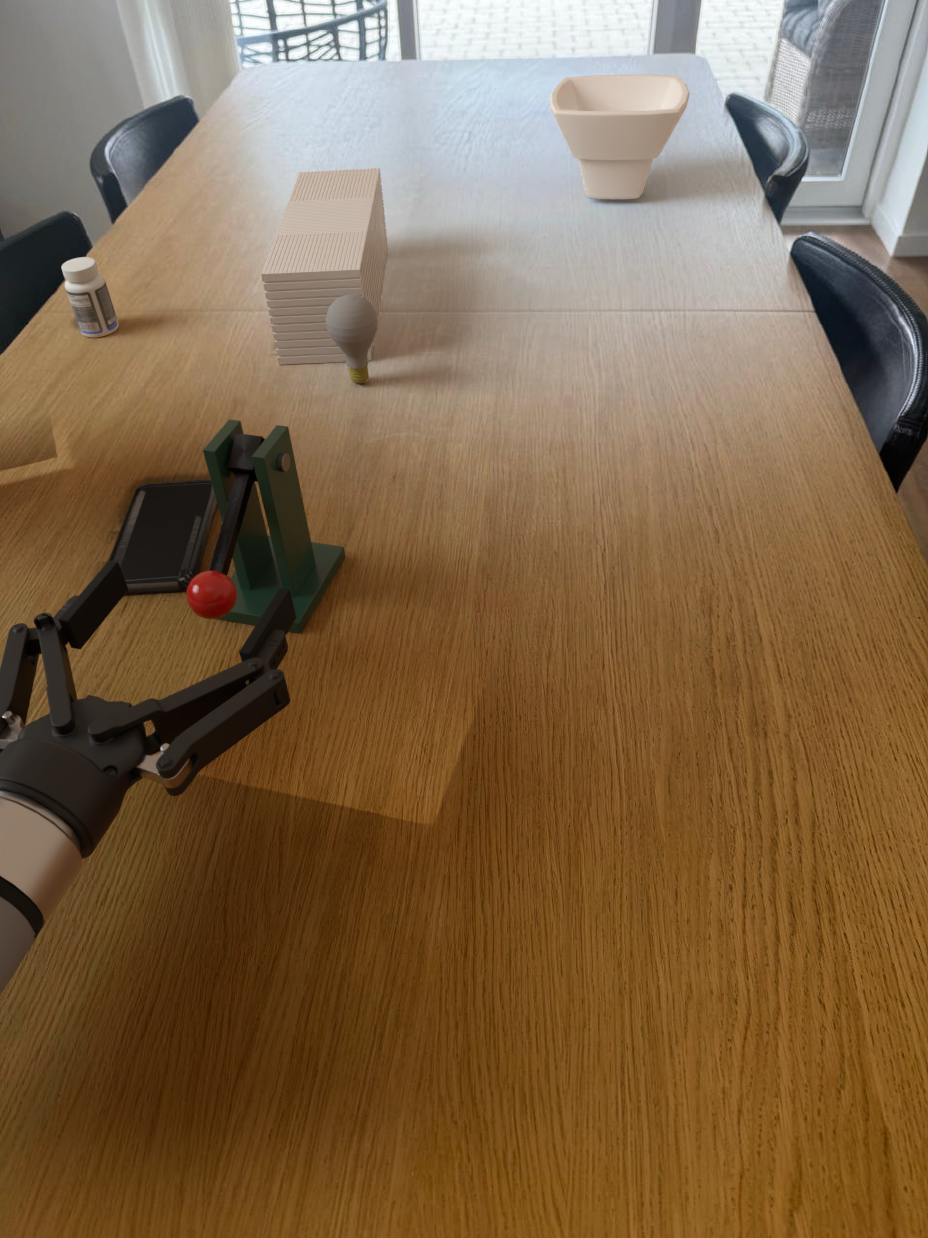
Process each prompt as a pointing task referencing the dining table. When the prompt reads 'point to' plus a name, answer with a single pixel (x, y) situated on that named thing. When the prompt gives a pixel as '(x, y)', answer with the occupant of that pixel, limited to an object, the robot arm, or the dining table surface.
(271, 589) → the switch bracket
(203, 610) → the switch lever
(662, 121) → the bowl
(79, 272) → the pill bottle
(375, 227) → the beige tall block
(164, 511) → the phone
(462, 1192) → the dining table surface
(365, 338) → the light bulb
